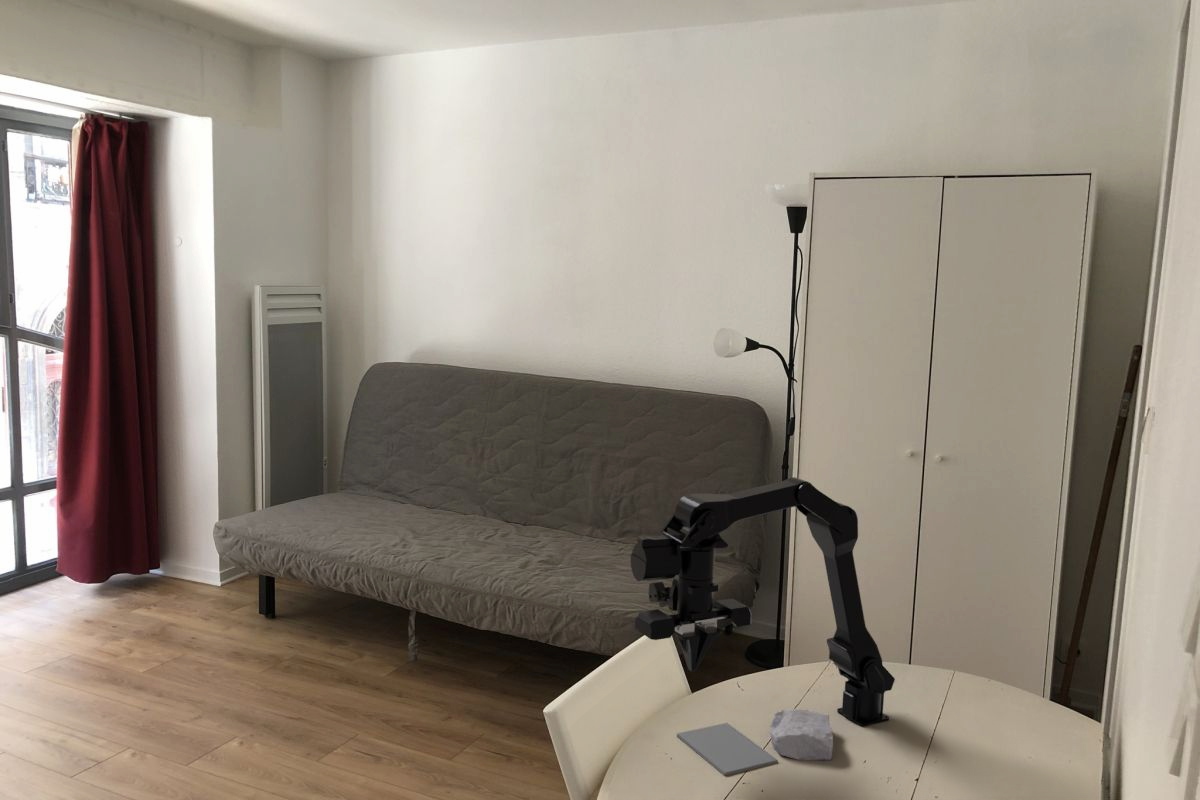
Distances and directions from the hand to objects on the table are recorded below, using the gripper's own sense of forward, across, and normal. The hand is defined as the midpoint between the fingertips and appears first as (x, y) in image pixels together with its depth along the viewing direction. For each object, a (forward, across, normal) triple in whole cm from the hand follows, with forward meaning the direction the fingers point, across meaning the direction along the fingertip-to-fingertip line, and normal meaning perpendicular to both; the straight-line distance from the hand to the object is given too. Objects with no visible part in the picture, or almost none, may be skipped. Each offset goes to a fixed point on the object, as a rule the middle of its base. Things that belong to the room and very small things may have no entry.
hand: (691, 670), depth 152 cm
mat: (+13, -5, +3) cm, 14 cm away
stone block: (+12, -14, +3) cm, 19 cm away
